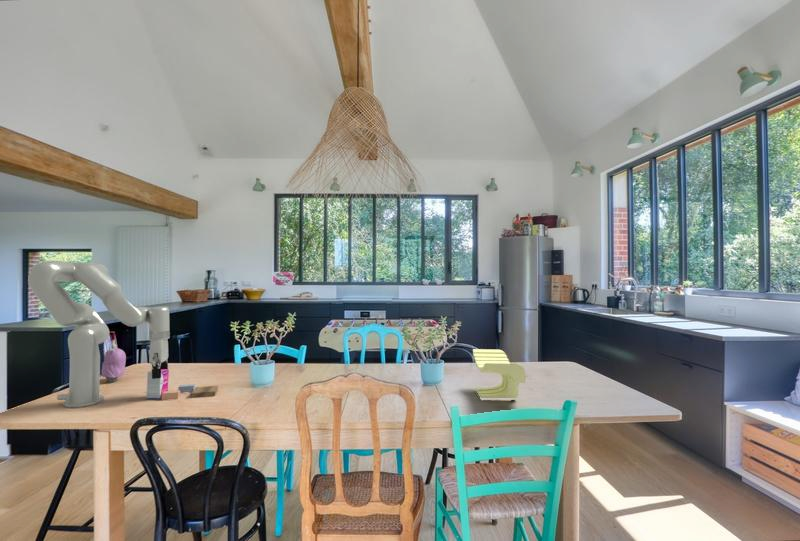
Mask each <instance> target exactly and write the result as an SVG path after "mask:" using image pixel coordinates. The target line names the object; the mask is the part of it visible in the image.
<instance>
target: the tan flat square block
mask: <svg viewBox="0 0 800 541" xmlns="http://www.w3.org/2000/svg"><path fill="white" fill-rule="evenodd" d="M218 391H219V385H210V386H209V385H208V386H195V389H194V391H193V392H190V393H191V399H194V398H207V397H215V396H216V395H217V392H218Z"/></svg>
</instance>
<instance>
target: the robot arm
mask: <svg viewBox="0 0 800 541" xmlns="http://www.w3.org/2000/svg"><path fill="white" fill-rule="evenodd" d="M27 278H28V279H27V281H28V285H29V288H30V290H31V292H32V293H33V294H34V295H35V297H37V299H38V300H39V301H40V302H41V304H42V305H43V307H44V308H45V309H46V311H47V312H48V313H49V314H50V315H51V317H52V318H53V319H54V320H55V322H56V323H57V324H59V326H62V327H67V328H68V327H75V328H73V329H72V330H71V332H70V333H69V334H68V338H67V345H68V351H69V377H68V379H69V383H68V384H69V385H68V388H69V389H68V393H60V394H58V393H57V396H56V399H57V401H65V402H63V407H64V408H68V409H69V408H75V409H76V408H82V407H84V408H85V407H88V406H89V407H90V406H93V405H97V404H99V403H101V402H103V401H104V400H105V397H104V396H103V395H100V382H101V380H100V378H101V374H100V372H101V353H100V348H99V345H100V344H101V345H102V344H103V343H104V342H106V341H107V340H108V339H109V337H110V329H109V327H108V325H107V324H106V323H105V320H103V319H102V317H101V316H100V315H99V313H98V312H97V311H96V310H95V308H93V306H91V305H90V304H88V303H86V302H83V301H78V302H77V301H76V300H74V299H73V297H72V296H71V295H70V294H69V293H68V291H67V290H66V289H65V288H63V286H61V285H60V284H59V282H61V283H62V282H64V283H69V282H71V283H81V284H82V285H83V286H84V287H85V288H87V289H88V290H89V291H90V292H91V293H93V294H94V295H95V297H97V298H99V299H100V300H101V301H102V303H103V305H104V306H105V308H106V309H107V311H109V313H110V314H111V315H112V316H114V317H115V318H116V319H117V320H118V321H119V322H121V323H122V324H123V325H126V326H127V327H132V328H133V327H138V326H141V325H144V324H148V340H149V354H148V355H149V356H148V357H149V358H148V362H149V364H150V365H151V371H152V379H156V378H161V369H169V362H168V358H169V341H168V339H170V337H171V336H170V335H171V332H170V308H169V307H168V306H154V307H150V306H149V307H147V306H138V307H137V306H134V305H133V304H132V303H131V302H130V301H129V300H128V299H127V298H126V297H125V296H124V295H123V293H122V292H123V291H122V286H121V284H119V283H118V282H117V281H116V280H114V279H113V278H112V277H111V276H110V275H109V270H108V268H107V267H106V266H105V265H104V264H102V263H100V262H99V263H98V262H88V261H87V262H77V261H76V262H74V261H61V260H59V261H58V260H45V261H41V262H40V261H39V263H37V264H35V265H34V266H33V267H32V268H31V269H30V271H29V273H28V277H27Z"/></svg>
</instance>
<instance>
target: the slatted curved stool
mask: <svg viewBox="0 0 800 541" xmlns="http://www.w3.org/2000/svg"><path fill="white" fill-rule="evenodd" d="M472 356H473V359H474V362H475V366H476V367H477V369H479V372H480V373H491V374H498V375H501V383H500V384H499V385H497V386H493V387H479V388H478V387H476V388H475V391H476V390H477V392H478V394H479V395H480V397H481V398H516V399H517V398H518V396H519V385H520V383H526V370H525V368H524V366H522V365H521V364H519V363H511V362H510V360H509V358H508V357H509V356H508V355H507V353H506V352H505V351H503V350H502V349H490V348H489V349H484V348H480V349H479V348H475V349H474V348H473V349H472ZM478 394H477V395H478Z"/></svg>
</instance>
